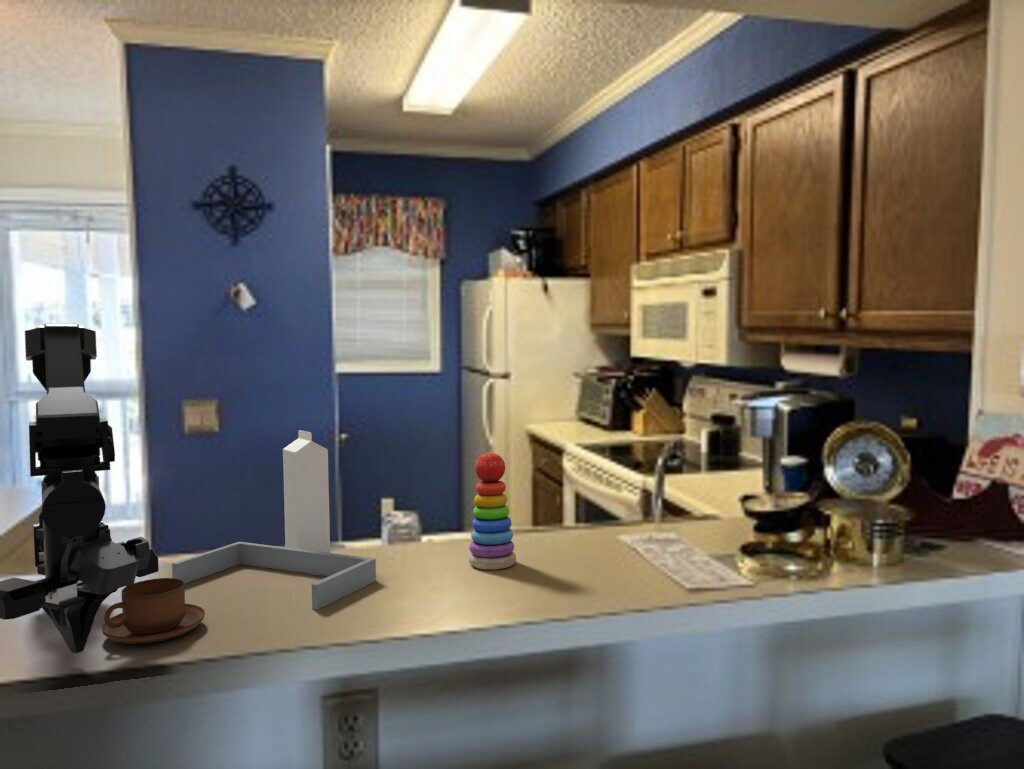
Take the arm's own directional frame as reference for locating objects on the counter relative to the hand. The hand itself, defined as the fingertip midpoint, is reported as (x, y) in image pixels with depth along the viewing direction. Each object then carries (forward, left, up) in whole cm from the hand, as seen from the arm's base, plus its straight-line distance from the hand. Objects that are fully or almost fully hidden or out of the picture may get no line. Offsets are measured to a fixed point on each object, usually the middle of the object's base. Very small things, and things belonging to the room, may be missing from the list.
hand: (77, 651), depth 87 cm
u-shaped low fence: (0, +31, -2) cm, 32 cm away
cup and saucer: (0, +11, -2) cm, 11 cm away
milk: (-6, +47, -2) cm, 48 cm away
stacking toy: (+27, +54, -2) cm, 61 cm away
